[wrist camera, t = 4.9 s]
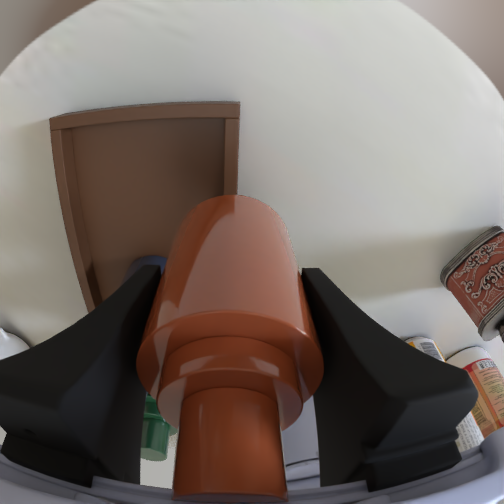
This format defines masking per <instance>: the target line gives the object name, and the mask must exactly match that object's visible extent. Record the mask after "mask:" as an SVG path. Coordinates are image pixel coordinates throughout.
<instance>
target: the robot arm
mask: <svg viewBox="0 0 504 504" xmlns="http://www.w3.org/2000/svg"><path fill="white" fill-rule="evenodd" d="M160 278H161V267H160V265H146V264H144V265H143V266H142V267H141V268H139V269H138V270H137V271H136V272H135V273H134V274H133V275H132V276H131V277H130V278H129V279H128V280H127V281H126V282H125V283H124V284H122V285H121V286H120V287H119V288H118V289H117V290H116V291H115V292H114V293H113V294H112V295H110V296H109V297H108V298H107V299H106V300H104V301H103V302H102V303H101V304H100V305H99V306H97V307H96V308H95V309H94V310H93V311H91V312H90V313H89V314H87V315H86V316H85V317H83V318H82V319H80V320H79V321H77V322H76V323H75V324H73V325H72V326H70V327H68V328H67V329H65V330H63V331H62V332H60V333H58V334H57V335H55V336H53V337H52V338H50V339H48V340H46V341H44V342H42V343H40V344H38V345H36V346H34V347H32V348H30V349H27V350H25V351H23V352H20V353H18V354H15V355H12V356H10V357H7V358H4V359H1V360H0V426H1V427H2V428H3V429H4V430H5V431H6V433H7V434H6V437H5V440H4V442H3V445H0V504H213V503H195V502H183V501H174V500H171V494H172V489H168V488H160V487H152V486H145V485H140V458H141V440H142V428H143V418H144V409H145V401H146V394H147V391H146V390H145V388H144V387H143V385H142V384H141V382H140V379H139V377H138V374H137V369H136V357H137V352H138V349H139V346H140V342H141V339H142V335H143V332H144V329H145V325H146V322H147V319H148V316H149V312H150V309H151V306H152V303H153V300H154V297H155V293H156V290H157V287H158V284H159V281H160ZM301 278H302V281H303V285H304V288H305V292H306V295H307V299H308V303H309V306H310V310H311V313H312V317H313V321H314V324H315V328H316V332H317V336H318V339H319V343H320V347H321V351H322V355H323V359H324V374H323V379H322V381H321V383H320V386H319V387H318V389H317V390H316V392H315V393H314V394H313V395H312V396H311V398H310V399H309V400H307V401H306V402H305V403H304V405H303V410H302V413H301V415H300V417H299V418H298V419H297V421H296V422H295V423H294V424H293V425H291V426H290V427H289V428H287V429H285V430H284V431H282V440H283V449H284V458H285V468H286V477H287V486H288V497H289V501H288V502H282V503H265V504H496V503H498V502H500V501H501V500H503V499H504V427H502V428H500V429H498V430H496V431H494V432H493V433H491V434H490V435H488V436H487V437H486V438H485V439H484V440H483V441H482V442H481V444H480V445H478V446H475V447H473V448H470V449H468V450H465V451H463V452H459V449H458V447H457V444H456V442H455V440H457V439H458V438H459V434H458V431H457V429H456V427H457V426H458V425H459V424H460V422H461V421H462V420H463V419H464V418H465V417H466V416H467V415H468V413H469V412H470V411H471V410H472V409H473V407H474V406H475V404H476V402H477V399H478V390H477V389H476V387H475V385H474V383H473V381H472V379H471V378H470V376H469V374H468V372H467V371H466V370H464V369H462V368H459V367H456V366H454V365H451V364H448V363H446V362H443V361H441V360H439V359H436V358H434V357H432V356H430V355H428V354H426V353H424V352H422V351H420V350H418V349H416V348H415V347H413V346H411V345H409V344H408V343H406V342H404V341H403V340H401V339H399V338H398V337H396V336H395V335H393V334H392V333H390V332H389V331H388V330H386V329H385V328H383V327H382V326H381V325H379V324H378V323H377V322H375V321H374V320H373V319H372V318H370V317H369V316H368V315H367V314H366V313H364V312H363V311H362V310H361V309H360V308H359V307H358V306H356V305H355V304H354V303H353V302H352V301H351V300H350V299H349V298H348V297H347V296H346V295H345V294H344V293H343V292H342V291H341V290H340V289H339V288H338V287H337V286H336V285H335V284H334V283H333V282H332V281H331V280H330V279H329V278H328V277H327V276H326V275H325V274H324V273H323V272H322V271H321V270H320V269H319V268H302V274H301Z"/></svg>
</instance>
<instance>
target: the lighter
mask: <svg viewBox="0 0 504 504" xmlns="http://www.w3.org/2000/svg"><path fill="white" fill-rule="evenodd" d="M440 279H441V282H442V284H443V285H444V286H445V288H446V289H447V290H448V291H451V292H452V294H453V295H454V296H455V298H456V299H457V300H458V302H459V303H460V304H461V306H462V307H463V308H464V310H465V311H466V312H467V314H468V315H469V316H470V318H471V319H472V321H473V322H474V323H475V325H476V326H477V328H478V333H479V334H480V336H481V337H482V339H483V340H484V341H490V340H492V339H493V338H495V337H496V336H498V335H499V334H500V336H501V338H502V341H503V342H504V230H503V229H502V228H501V227H499V226H495V227H493V228H492V229H490V230H488V231H487V232H485V233H484V234H482V235H481V236H479V237H478V238H477V239H475V240H474V241H473V242H471V243H470V244H469V245H468V246H467V247H466V248H464V249H463V250H462V251H461V252H460V253H459V254H458V255H457V256H456V257H455V258H454V259H453V260H452V261H451V262H450V263H449V264H448V265H447V266H446V267H445V268H444V269H443V271H442V273H441V278H440Z"/></svg>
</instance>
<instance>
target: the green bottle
mask: <svg viewBox="0 0 504 504" xmlns="http://www.w3.org/2000/svg"><path fill="white" fill-rule="evenodd" d="M177 431H178V430H177V429H176V428H174V427H172V426H171V425H170V424H169V423H167V422H166V421H165V420H164V419H163V417H162V416H161V415H160V413H159V411H158V409H157V405H156V400H155V399H154V398H152V397H151V396H150V394H149V393H148V394H147V399H146V404H145V409H144V418H143V428H142V440H141V458H143V459H146V460H151V461H163V460H166V459H167V453H168V444H169V436H171V435H174V434H176V433H177Z"/></svg>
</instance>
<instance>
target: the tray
mask: <svg viewBox="0 0 504 504" xmlns="http://www.w3.org/2000/svg"><path fill="white" fill-rule="evenodd" d="M239 117H240V102H225V101H206V102H171V103H153V104H139V105H128V106H118V107H109V108H101V109H93V110H86V111H79V112H72V113H66V114H63V115H59V116H56V117H53V118H50V119H49V121H50V133H51V143H52V152H53V160H54V168H55V174H56V181H57V187H58V193H59V199H60V204H61V209H62V215H63V219H64V224H65V229H66V233H67V238H68V242H69V246H70V250H71V254H72V258H73V262H74V266H75V269H76V273H77V277H78V280H79V284H80V287H81V290H82V294H83V297H84V300H85V303H86V306H87V310H88V313H90V312H91V311H93V310H94V309H95V308H96V307H97V306H99V305H100V304H101V303H102V302H103V301H104V300H106V299H107V298H108V297H109V296H110V295H112V294H113V293H114V292H115V291H116V290H117V289H118V288H119V286H120V284H121V281H122V279H123V277H124V275H125V273H126V271H127V269H128V267H129V266H130V265H131V264H132V263H133V262H134V261H135V260H137V259H139V258H141V257H144V256H151V255H154V256H161V257H165V258H168V255H169V252H170V249H171V246H172V244H173V241H174V238H175V235H176V232H177V230H178V227H179V225H180V223H181V221H182V220H183V218H184V217H185V216H186V215H187V214H188V212H189V211H190V210H192V209H193V208H194V207H195V206H197V205H198V204H200V203H201V202H203V201H206V200H208V199H210V198H214V197H217V196H223V195H237V182H238V149H239V120H240V119H239Z"/></svg>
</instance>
